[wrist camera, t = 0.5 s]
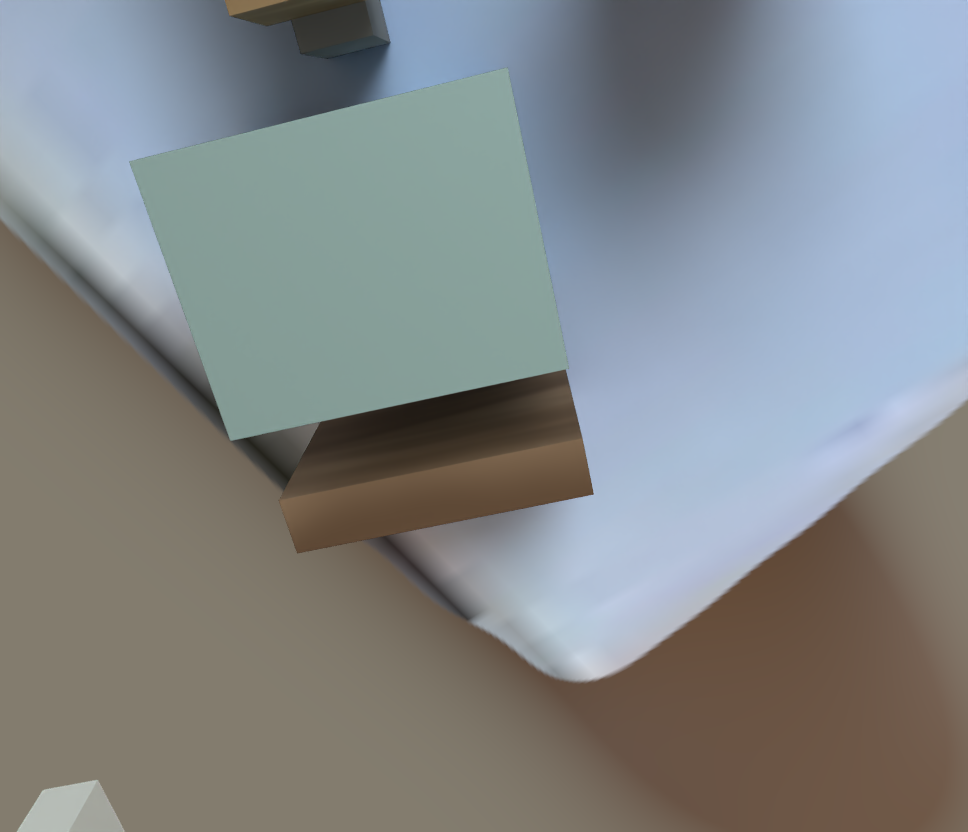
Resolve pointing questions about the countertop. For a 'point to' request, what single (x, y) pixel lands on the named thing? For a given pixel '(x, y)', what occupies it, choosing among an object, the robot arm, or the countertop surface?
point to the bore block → (359, 256)
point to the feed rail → (342, 30)
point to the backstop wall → (438, 463)
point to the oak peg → (280, 9)
